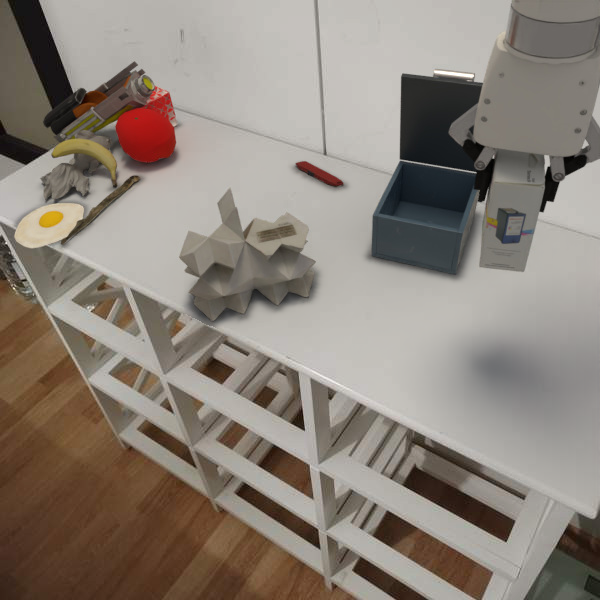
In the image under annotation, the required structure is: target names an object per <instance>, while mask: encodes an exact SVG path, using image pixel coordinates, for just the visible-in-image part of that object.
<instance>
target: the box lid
mask: <svg viewBox="0 0 600 600" xmlns="http://www.w3.org/2000/svg"><path fill="white" fill-rule="evenodd" d="M400 75H401V76H400V108H399V109H400V110H399V111H400V113H399V115H400V116H399V119H400V120H399V161H405V162H411V163H417V164H423V165H429V166H435V167H441V168H447V169H453V170H459V171H465V172H471V173H476V172H477V169H476V168H475V166H474V164H475V163H474V162H473V161H472V159H471V158H470V157H469V156H468V155H467V154H466V152H465V151H464V150H463V147H462V146H461V145H459V144H458V143H457V142H456V141H455V140H454V139H453V138H452V137H451V136H450V134H449V129H450V126H451V124H452V123H453V122H454V121H455V120H457V119H458V118H459V117H461V116H462V115H463V114H464V113H466V112H467V111H468V110H469V109H471V108H472V107H473V106H475V105H476V104H477V103H478V102H479V98H480V94H481V89H482V85H483V82H479V81H475V79H476V73H475V72H468V71H467V72H466V71H460V70H459V71H458V70H452V69H451V70H449V69H440V68H435V69H434V70H433V74H432V76H428V75H420V74H412V73H404V72H403V73H402V74H400ZM469 131H470V133H471V134H473V132H474V125H473V126H472V127H471V128H469Z"/></svg>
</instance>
